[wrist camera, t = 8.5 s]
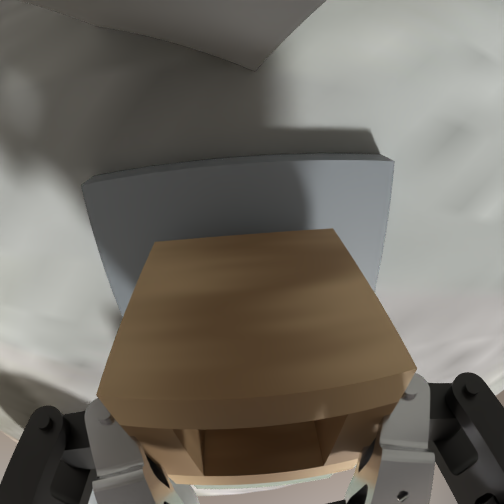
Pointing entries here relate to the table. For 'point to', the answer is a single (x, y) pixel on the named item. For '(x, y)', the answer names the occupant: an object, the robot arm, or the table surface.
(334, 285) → the sleeve
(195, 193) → the board
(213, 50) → the perfume bottle
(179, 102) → the table surface
